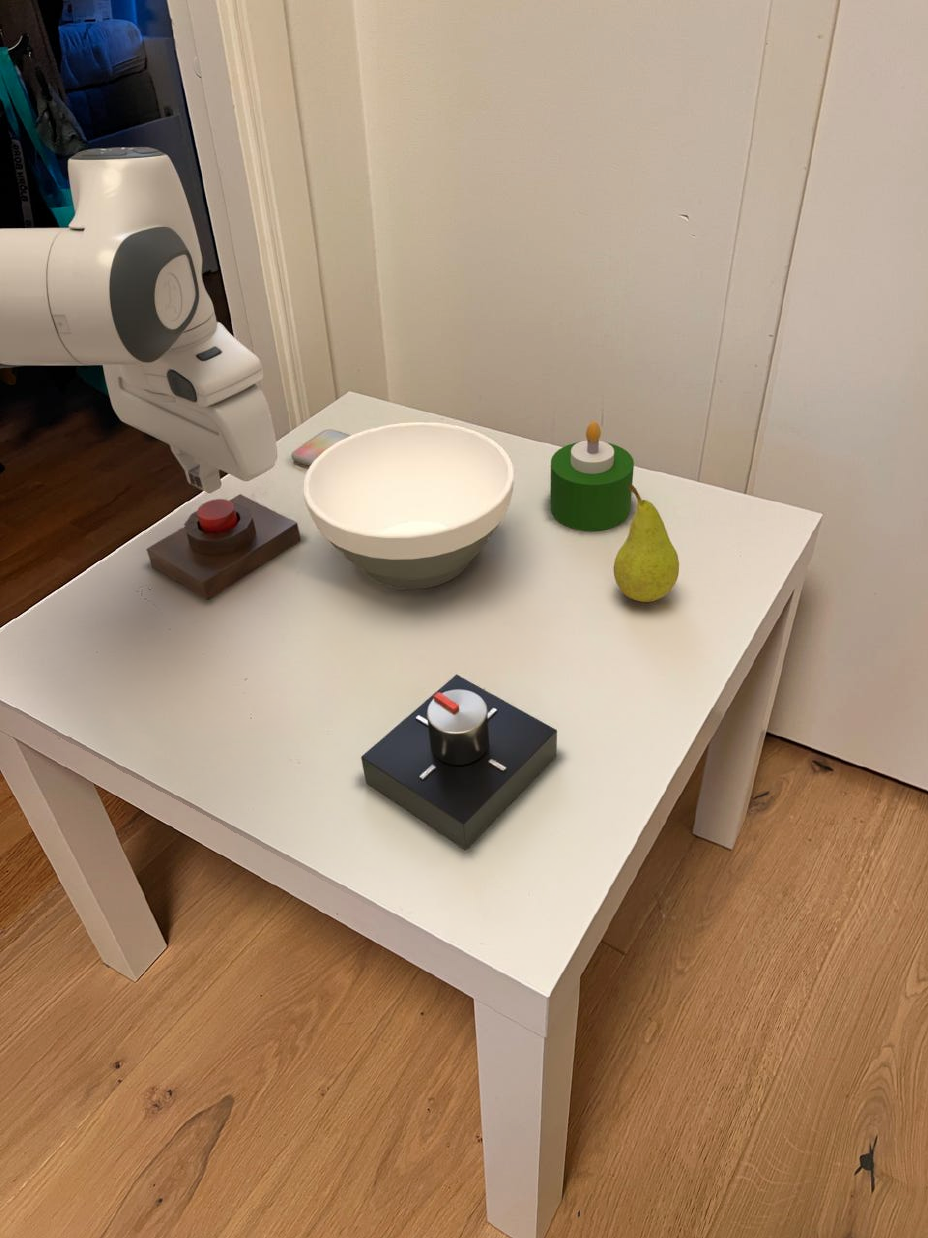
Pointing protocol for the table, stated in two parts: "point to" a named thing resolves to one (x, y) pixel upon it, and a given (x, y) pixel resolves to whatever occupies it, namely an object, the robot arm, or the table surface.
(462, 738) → the dimmer knob
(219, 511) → the light button
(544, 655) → the table surface
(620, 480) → the candle
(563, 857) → the table surface
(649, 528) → the fruit
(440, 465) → the bowl
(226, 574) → the lamp switch
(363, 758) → the dimmer panel
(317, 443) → the smartphone
